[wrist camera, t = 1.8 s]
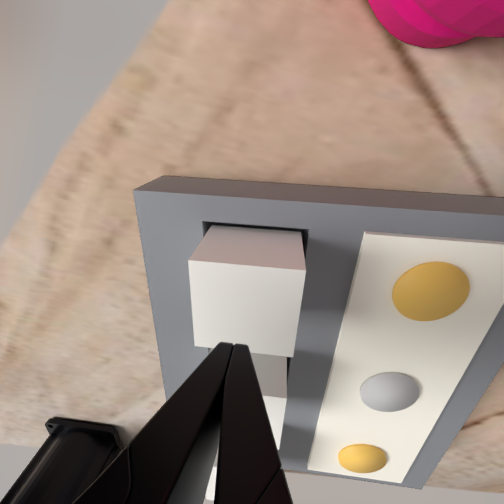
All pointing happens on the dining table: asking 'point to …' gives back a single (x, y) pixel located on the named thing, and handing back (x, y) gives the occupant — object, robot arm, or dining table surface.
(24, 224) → the dining table surface
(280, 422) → the middle button
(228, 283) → the button
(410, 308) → the button panel
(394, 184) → the dining table surface
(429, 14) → the pepper mill
